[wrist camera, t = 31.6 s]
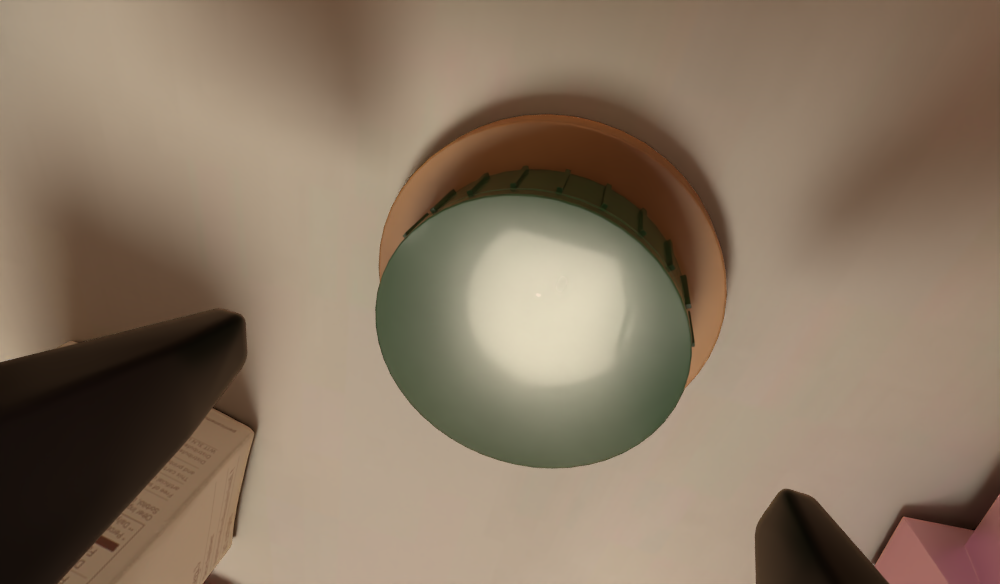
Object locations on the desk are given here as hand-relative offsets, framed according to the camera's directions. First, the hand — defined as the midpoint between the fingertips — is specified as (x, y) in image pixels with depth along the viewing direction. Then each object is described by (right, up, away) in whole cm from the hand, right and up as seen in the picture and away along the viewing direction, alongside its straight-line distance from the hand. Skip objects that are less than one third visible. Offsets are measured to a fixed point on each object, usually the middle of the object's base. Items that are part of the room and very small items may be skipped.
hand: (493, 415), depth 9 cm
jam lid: (+1, +1, +2) cm, 3 cm away
